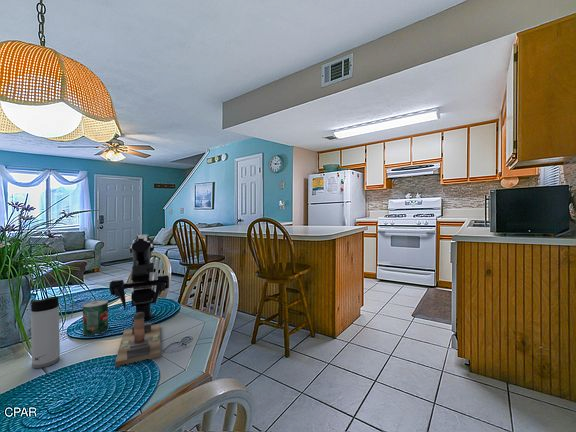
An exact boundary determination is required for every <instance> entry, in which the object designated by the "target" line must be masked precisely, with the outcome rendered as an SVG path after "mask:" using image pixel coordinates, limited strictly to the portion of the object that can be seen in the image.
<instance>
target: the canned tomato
mask: <svg viewBox="0 0 576 432" xmlns="http://www.w3.org/2000/svg"><path fill="white" fill-rule="evenodd" d="M108 302H109V301H108V300H107V299H96V300H95V299H94V300H91V301H88V302H85V303H83V304H82V335H83V334H84V335H95V334H99V333H102V332H104V331H106V330H107V329H108V330H109V305H108V304H109V303H108ZM108 330H107V331H108ZM107 331H106V332H107ZM104 333H105V332H104ZM102 334H103V333H102ZM84 335H83V336H84ZM99 335H100V334H99ZM95 336H96V335H95Z"/></svg>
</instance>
